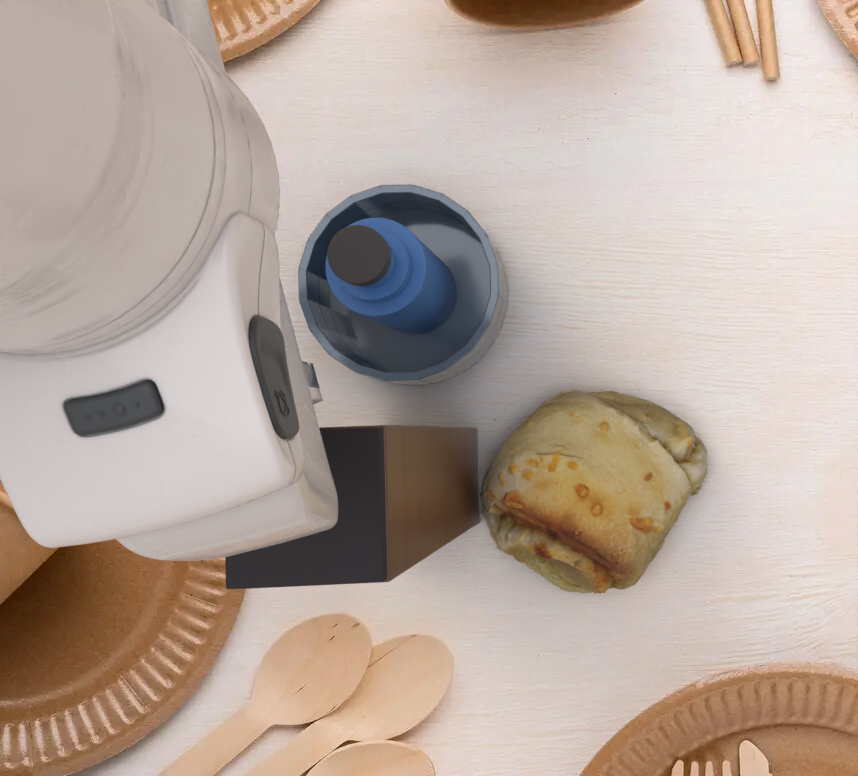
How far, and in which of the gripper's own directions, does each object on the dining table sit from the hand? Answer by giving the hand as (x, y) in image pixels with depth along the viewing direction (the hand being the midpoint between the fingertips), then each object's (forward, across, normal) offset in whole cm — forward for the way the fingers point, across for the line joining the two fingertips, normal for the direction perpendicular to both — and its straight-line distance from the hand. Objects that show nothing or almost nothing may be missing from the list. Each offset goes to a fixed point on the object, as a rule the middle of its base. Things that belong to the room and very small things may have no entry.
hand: (265, 267), depth 40 cm
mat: (+1, +9, -1) cm, 9 cm away
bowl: (+27, -2, +1) cm, 27 cm away
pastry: (+27, +13, +9) cm, 31 cm away
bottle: (+26, -2, +1) cm, 26 cm away
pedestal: (+27, +9, -1) cm, 28 cm away
